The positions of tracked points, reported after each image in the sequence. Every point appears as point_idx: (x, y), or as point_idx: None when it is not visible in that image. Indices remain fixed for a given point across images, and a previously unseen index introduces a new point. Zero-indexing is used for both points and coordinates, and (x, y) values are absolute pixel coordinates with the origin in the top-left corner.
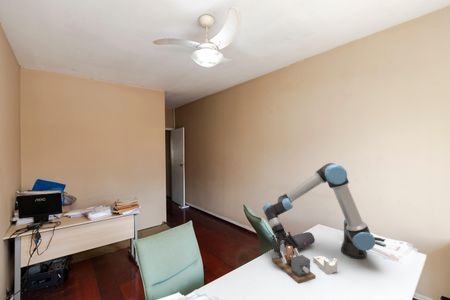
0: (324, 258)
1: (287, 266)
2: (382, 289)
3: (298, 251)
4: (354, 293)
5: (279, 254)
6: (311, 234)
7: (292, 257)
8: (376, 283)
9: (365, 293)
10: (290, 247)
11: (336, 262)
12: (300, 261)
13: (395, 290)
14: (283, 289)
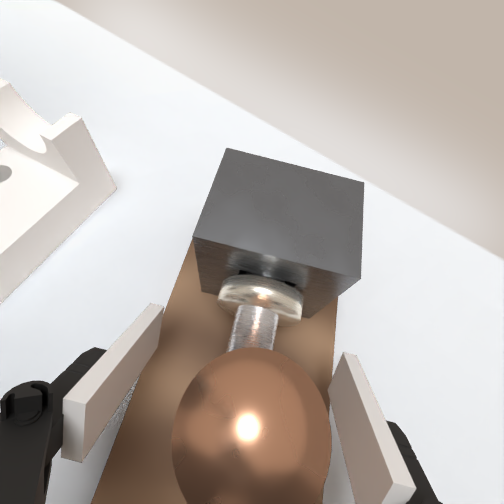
0: None
1: None
2: (69, 36)
3: (78, 362)
4: (183, 83)
5: (421, 475)
6: None
7: (346, 273)
8: (33, 49)
9: (149, 64)
10: (285, 366)
11: (17, 95)
12: (331, 185)
13: (42, 15)
14: (446, 265)
